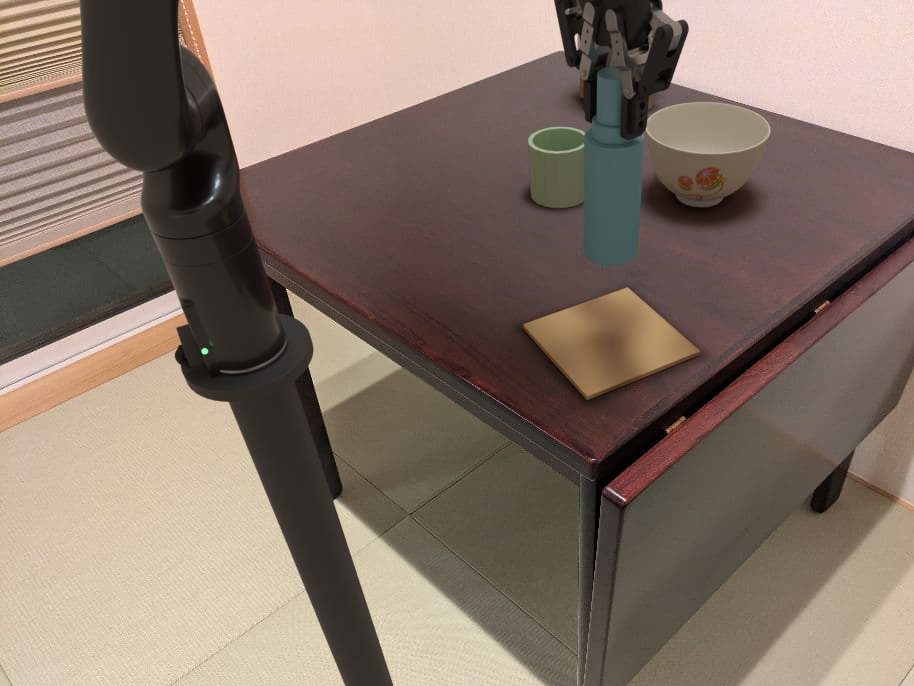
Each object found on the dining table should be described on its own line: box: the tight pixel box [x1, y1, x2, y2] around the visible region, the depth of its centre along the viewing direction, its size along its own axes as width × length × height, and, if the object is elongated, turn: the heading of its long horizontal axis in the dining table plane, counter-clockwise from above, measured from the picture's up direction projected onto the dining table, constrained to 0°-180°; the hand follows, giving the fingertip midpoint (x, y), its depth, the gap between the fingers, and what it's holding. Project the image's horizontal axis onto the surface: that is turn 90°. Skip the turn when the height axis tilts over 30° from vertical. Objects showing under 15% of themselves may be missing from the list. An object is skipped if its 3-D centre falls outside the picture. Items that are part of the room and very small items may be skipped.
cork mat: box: [522, 286, 701, 401], centre depth 86 cm, size 14×14×1 cm
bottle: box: [582, 66, 646, 267], centre depth 73 cm, size 5×5×18 cm
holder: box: [527, 126, 586, 209], centre depth 109 cm, size 8×8×8 cm
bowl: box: [645, 101, 772, 208], centre depth 106 cm, size 16×16×10 cm
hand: (614, 127), depth 70 cm, fingers closed on bottle, 4 cm apart
